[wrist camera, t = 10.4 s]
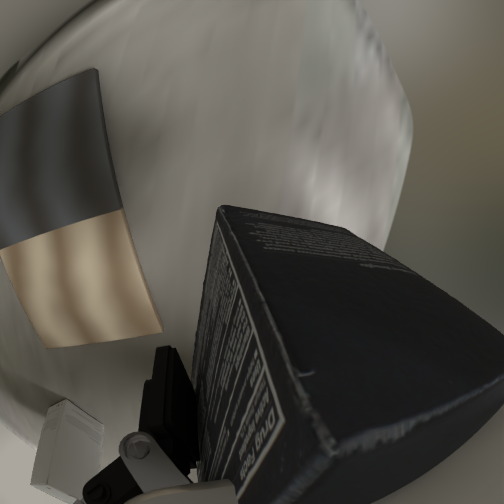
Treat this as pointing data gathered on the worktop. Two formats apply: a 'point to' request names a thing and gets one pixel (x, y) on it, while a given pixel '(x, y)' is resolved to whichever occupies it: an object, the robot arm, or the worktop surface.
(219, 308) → the small box
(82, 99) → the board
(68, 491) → the skincare box
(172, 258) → the worktop surface
